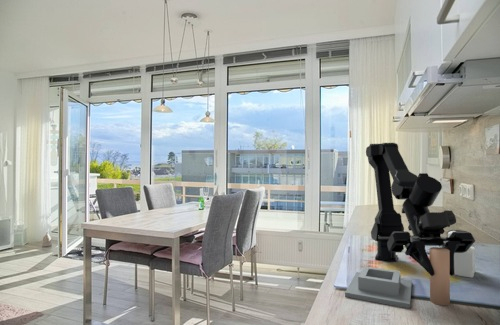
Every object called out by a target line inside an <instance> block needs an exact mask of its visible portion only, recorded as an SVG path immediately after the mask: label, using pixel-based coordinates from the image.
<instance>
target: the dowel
mask: <svg viewBox="0 0 500 325" xmlns="http://www.w3.org/2000/svg"><path fill="white" fill-rule="evenodd" d="M428 248H429V247H428ZM428 253H429V255H428V257H429V260H430V262H431V265H432V267H433V270H434V275H433V276H431V275H430V274H429V301H430V302H431V303H433V304H435V305H439V306H450V305H451V279H450V278H451V275H450V251H449V250H448V249H445V248H440V247H439V246H438V247H437V246H435V247H434V246H431V247H430V248H429V252H428Z"/></svg>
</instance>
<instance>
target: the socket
mask: <svg viewBox="0 0 500 325" xmlns="http://www.w3.org/2000/svg"><path fill="white" fill-rule="evenodd" d="M412 280H413V279H406V278H401V271H400V270H395V269H394V270H393V269H387V268H386V269H385V268H378V267H372V266H371V267H370V266H365V265H364V266H363V267H362V269H361V271H359V272H358V271H356V272H355V274H354V276H353V277H352V279H351V281H350V283H349V284H348V287H347V288H346V290H345V291H344V297H345V298H352V299H355V300H356V299H357V300H361V301H366V302H367V301H368V302H372V303H379V304H383V305H388V306H389V305H390V306H395V307H400V308H405V309H410V308H411V299H412V283H413V282H412Z"/></svg>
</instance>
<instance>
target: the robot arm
mask: <svg viewBox="0 0 500 325" xmlns="http://www.w3.org/2000/svg"><path fill="white" fill-rule="evenodd" d="M365 155H366V156H365V157H366V158H367V161H368V164H369V165H370V166H371V167H372V168H373V171H374V180H375V188H376V195H377V196H376V197H377V204H378V205H377V206H378V211H377V213H376V215H375V217H374V224H373V226H372V228H371V231H370V236H371V239H372V240H374V241H375V242H376V244H377V247H376V252H377V253H376V255H375V256H374V259H375V260H378V261H388V262H394V263H395V262H397V261H398V258H399V256H398V254H397V253H402V252H403V250H404V249H406V250H405V251H404V255H405V256H409V257H410V258H412V259H413V260H414V261H415V262H416V263H418V264H419V266H421V268H423V269H424V270H425V271H426V272H427V274H429V276H430V275H431V276H433V275H434V270H433V267H432V265H431V262H430V257H429V255H428V253H427V251H426V247H427V246H428V247H430V246H431V247H434V246H435V247H437V246H438V248H445V249H448V250H449V251H450V277H454V276H455V275H454V253H464V252H466V251H467V250H468V249H469V248H470V247H471V246H472V247H473V244H474V243H475V242H476V239H475V237H474V235H473V234H472V233H471V232H469V231H467V232H453V233H452V234H451V235H450V237H447V236H441V235H443V234H445V229H446V228H450V227H451V226H452V225H454V224H456V223H457V217H456V215H455V213H454V211H453V210H443V211H442V212H435V211H432V212H430V209H429V207H431V206H433V204H434V203H435V201H436V199H437V198H438V196H439V194H440V192H441V190H442V189H443V185H442V183H441V181H439V180H437V179H436V178H435V177H432V176H430V175H429V174H428V173H427V172H424V173H423V172H419V173H418V175H417V174H415V173H413V172H412V171H410V170H409V169H408V168H409V167H408V166H407V164H406V163H405V160H404V158H403V157H402V155H401V152H400V150H399V144H398V143H396V142H382V143H370V144H369V146H367V147H366V149H365ZM391 178H392V184H391ZM393 197H394V198H395V199H396V200H404V201H403V202H402V205H401V206H402V208H401V213H400V212H397V211H396V209H395V207H394V206H395V205H394V200H393ZM401 214H405V217H406V219H407V221H408V227H407V229H408V231H404V230H405V227H404V224H403V222H402V215H401ZM409 231H411V232H412V235H411V233H410V232H409Z"/></svg>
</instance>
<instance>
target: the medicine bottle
mask: <svg viewBox="0 0 500 325" xmlns="http://www.w3.org/2000/svg"><path fill="white" fill-rule="evenodd" d="M453 232H468V231H467V230H463V229H461V230H460V229H449V230H448V231H447V232H446V237H450V235H451V234H452V233H453ZM475 273H476V248H475V247H474V246H473V245H472V246H471V247H470V248H469V249H468V250H467V251H466V252H464V253H454V275H453V276H460V277H464V278H470V279H473V278H474V275H475Z"/></svg>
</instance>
